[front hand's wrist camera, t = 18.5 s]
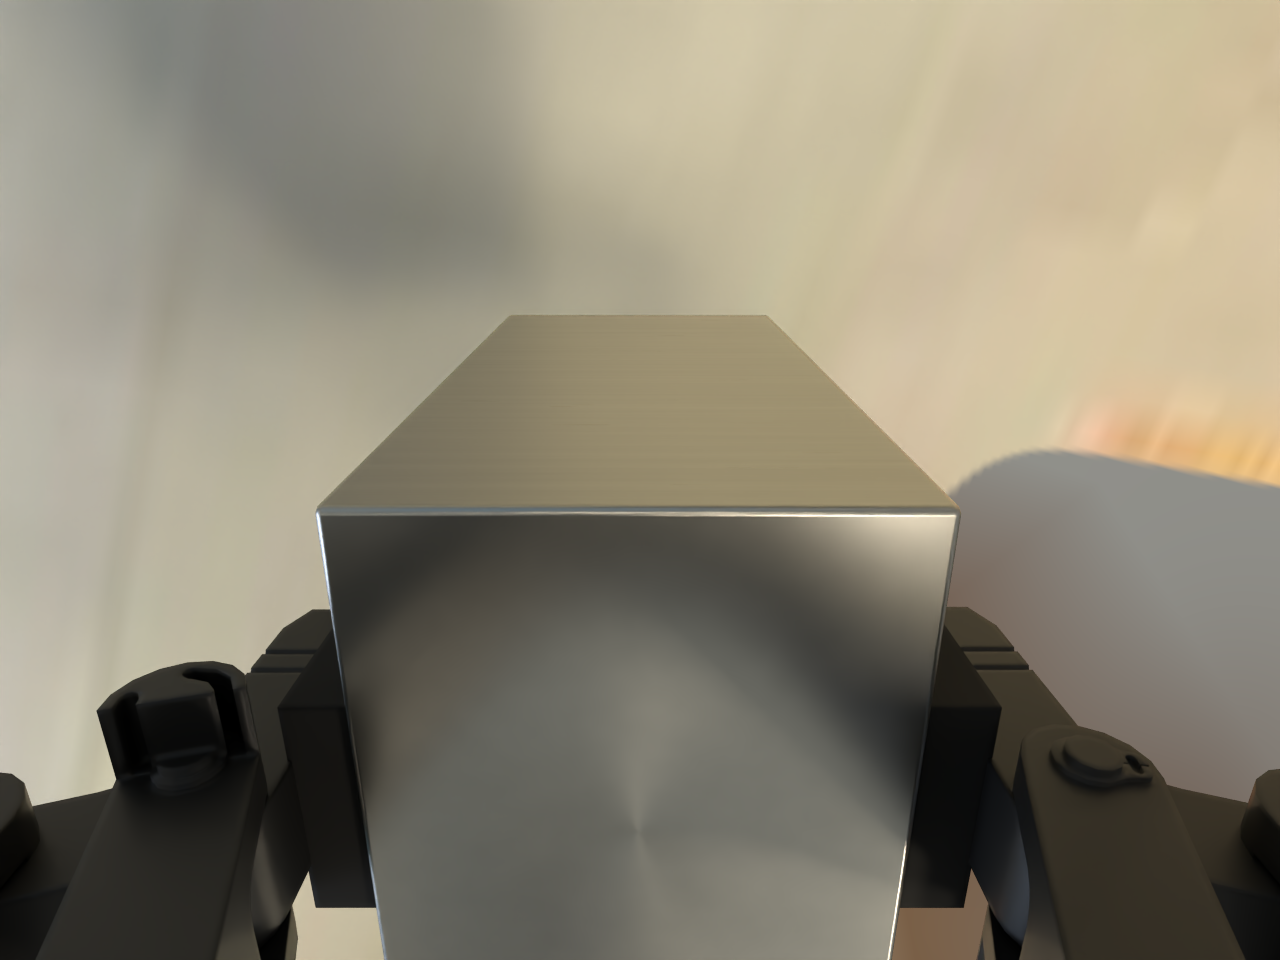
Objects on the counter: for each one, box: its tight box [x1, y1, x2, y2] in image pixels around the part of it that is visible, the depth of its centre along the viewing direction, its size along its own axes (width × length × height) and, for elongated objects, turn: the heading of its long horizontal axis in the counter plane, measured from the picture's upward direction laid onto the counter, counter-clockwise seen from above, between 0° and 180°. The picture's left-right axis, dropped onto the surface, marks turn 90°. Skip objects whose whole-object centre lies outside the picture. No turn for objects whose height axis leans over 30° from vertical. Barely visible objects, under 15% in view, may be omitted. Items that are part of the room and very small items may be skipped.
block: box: [316, 315, 961, 960], centre depth 14 cm, size 6×7×11 cm
